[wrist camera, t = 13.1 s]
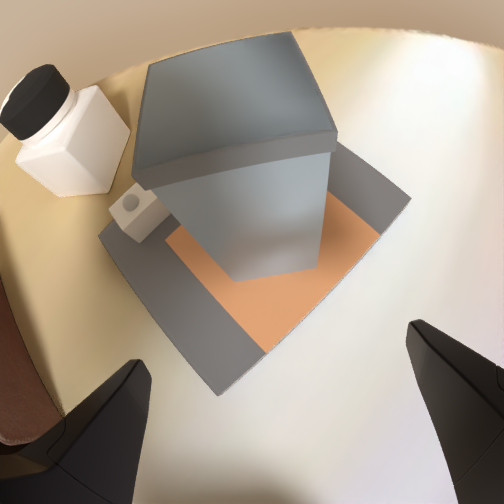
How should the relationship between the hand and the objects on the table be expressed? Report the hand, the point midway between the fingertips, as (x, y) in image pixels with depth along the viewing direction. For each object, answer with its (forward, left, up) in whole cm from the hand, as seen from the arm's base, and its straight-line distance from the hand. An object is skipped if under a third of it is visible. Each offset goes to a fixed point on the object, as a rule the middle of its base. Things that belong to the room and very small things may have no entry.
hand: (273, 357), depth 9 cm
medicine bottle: (-2, +24, -9) cm, 26 cm away
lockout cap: (+4, +6, -8) cm, 11 cm away
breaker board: (+4, +8, -9) cm, 13 cm away
